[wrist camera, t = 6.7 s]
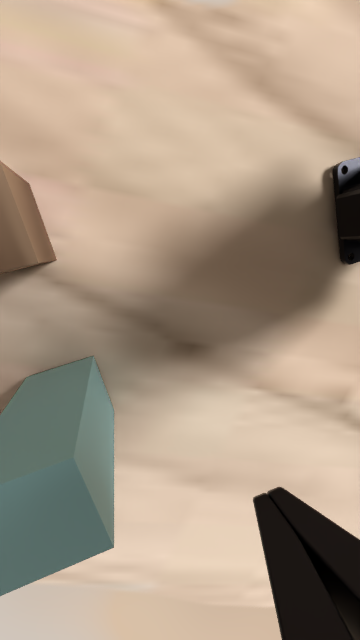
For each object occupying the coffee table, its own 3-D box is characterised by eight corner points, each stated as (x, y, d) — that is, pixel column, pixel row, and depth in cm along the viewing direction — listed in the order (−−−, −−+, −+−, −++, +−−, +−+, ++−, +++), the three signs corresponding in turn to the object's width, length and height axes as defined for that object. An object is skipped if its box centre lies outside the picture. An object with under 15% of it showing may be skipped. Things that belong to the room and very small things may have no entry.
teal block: (93, 355, 17) (73, 457, 9) (113, 410, 18) (114, 547, 10) (26, 377, 17) (-66, 508, 8) (52, 432, 18) (-5, 598, 9)
